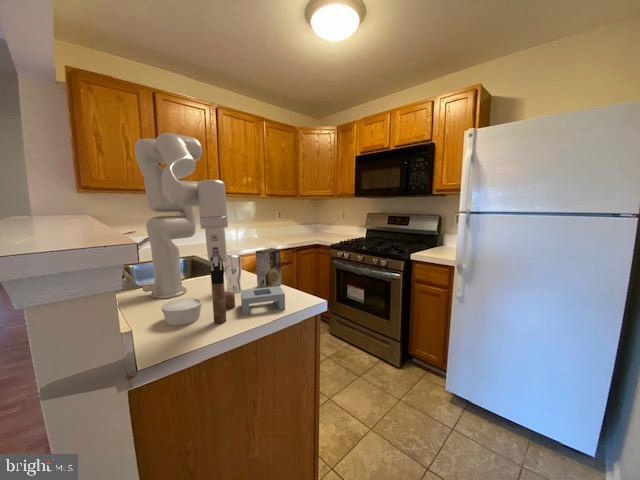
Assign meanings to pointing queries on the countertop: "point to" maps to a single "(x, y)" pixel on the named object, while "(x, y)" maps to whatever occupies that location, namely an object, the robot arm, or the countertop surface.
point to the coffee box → (268, 268)
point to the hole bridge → (262, 297)
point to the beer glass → (233, 273)
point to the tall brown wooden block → (218, 303)
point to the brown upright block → (230, 300)
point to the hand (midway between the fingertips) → (218, 279)
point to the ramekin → (182, 311)
